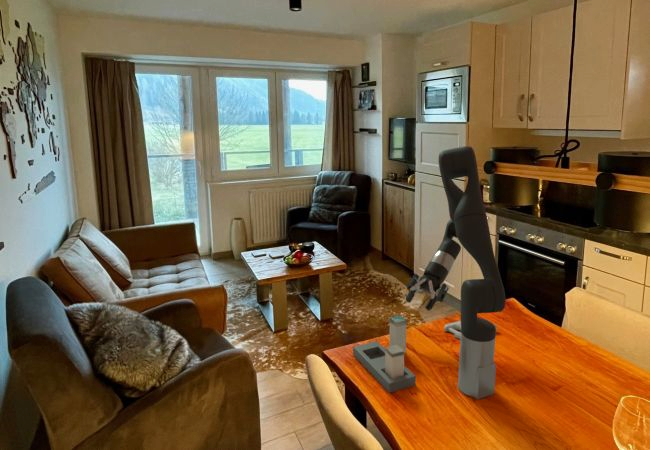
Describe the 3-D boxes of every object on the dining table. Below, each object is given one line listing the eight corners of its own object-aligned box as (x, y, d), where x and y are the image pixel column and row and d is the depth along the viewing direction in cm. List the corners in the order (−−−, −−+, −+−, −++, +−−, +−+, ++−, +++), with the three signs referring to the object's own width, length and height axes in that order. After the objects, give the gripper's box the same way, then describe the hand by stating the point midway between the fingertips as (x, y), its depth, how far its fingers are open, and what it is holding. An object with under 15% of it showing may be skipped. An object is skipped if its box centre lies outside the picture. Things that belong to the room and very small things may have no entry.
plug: (405, 353, 145) (406, 320, 142) (395, 355, 144) (396, 322, 141) (399, 347, 149) (399, 315, 146) (389, 350, 147) (389, 317, 144)
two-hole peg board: (415, 385, 127) (416, 352, 125) (389, 392, 124) (389, 360, 122) (376, 348, 148) (376, 320, 146) (353, 354, 145) (352, 326, 142)
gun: (481, 313, 165) (499, 324, 156) (481, 321, 166) (499, 333, 157) (440, 323, 160) (456, 335, 151) (440, 331, 161) (456, 344, 152)
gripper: (419, 256, 156) (396, 294, 152) (452, 266, 145) (428, 307, 141) (428, 267, 160) (406, 304, 156) (460, 277, 149) (438, 317, 145)
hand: (417, 305), depth 148 cm, fingers open, 8 cm apart
